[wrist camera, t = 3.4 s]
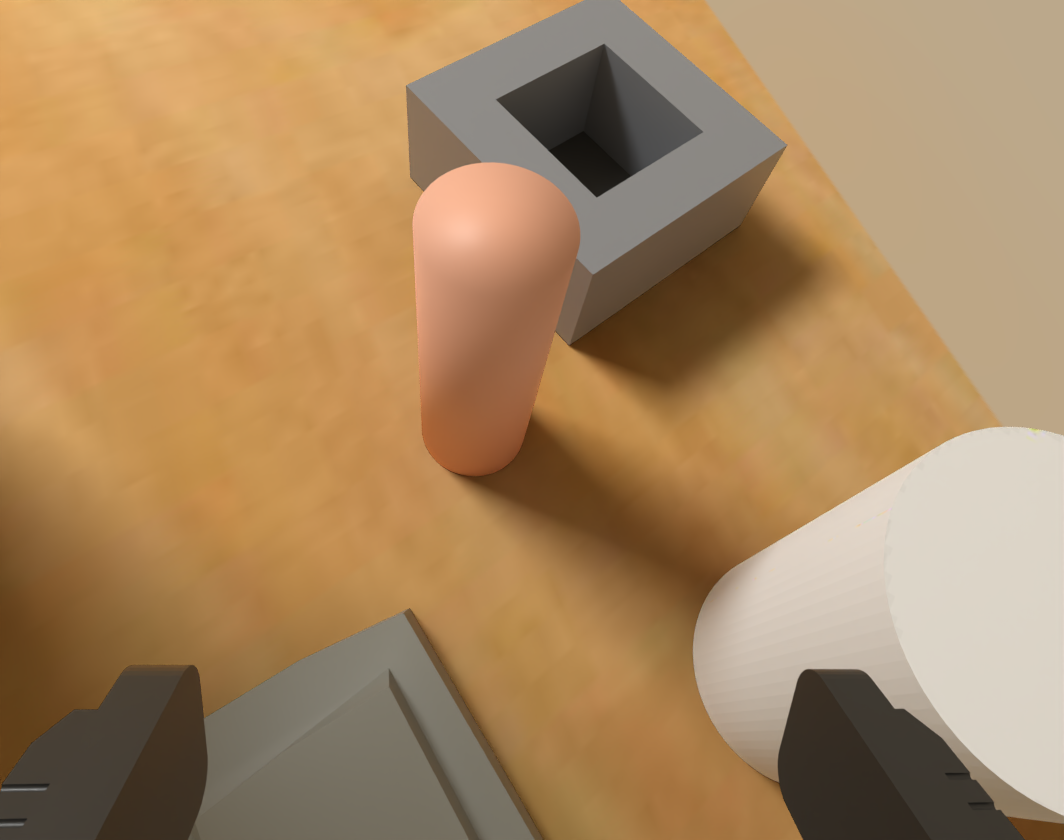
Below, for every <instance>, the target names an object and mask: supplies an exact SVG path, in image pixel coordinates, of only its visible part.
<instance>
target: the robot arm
mask: <svg viewBox="0 0 1064 840" xmlns="http://www.w3.org/2000/svg"><path fill="white" fill-rule="evenodd" d="M207 770H208V755H207V745H206V735H205V725H204V715H203V705H202V696H201V686H200V677H199V673H198V670H197V668H196V667H195V666H193V665H131V666H129V667H127V668H126V669H125V670H124V671H123V672H122V673H121V675H120V676H119V678H118V679H117V681H116V682H115V684H114V685H113V687H112V689H111V690H110V692H109V693H108V695H107V696H106V698H105V699H104V701H103V702H102V704H101V706H100V707H99V709H98V710H73V711H72V712H71V713H69V714H68V715H67V716H66V717H64V718H63V719H62V720H60V721H59V722H58V723H57V724H55V725H54V726H53V727H52V728H50V729H49V730H48V731H47V732H45V733H44V734H43V735H41V736H40V737H39V738H38V739H36V740H35V741H34V742H33V743H31V745H30V746H29V747H28V749H27V750H26V752H25V753H24V754H23V756H22V757H21V758H20V760H19V761H18V763H17V764H16V765H15V767H14V768H13V770H12V771H11V772H10V774H9V775H8V776H7V778H6V779H5V781H4V782H3V783H2V788H1V791H0V840H188V839H189V836H190V834H191V831H192V829H193V826H194V823H195V821H196V818H197V816H198V813H199V810H200V807H201V804H202V800H203V796H204V791H205V786H206V780H207ZM778 777H779V784H780V788H781V792H782V795H783V798H784V801H785V803H786V806H787V808H788V810H789V812H790V814H791V816H792V818H793V820H794V822H795V824H796V826H797V828H798V830H799V832H800V834H801V836H802V838H803V840H1025V839H1024V838H1023V837H1022V836H1021V834H1020V833H1019V832H1018V831H1017V829H1016V828H1015V827H1014V826H1013V825H1012V823H1011V822H1010V821H1009V820H1008V818H1007V817H1006V816H1005V815H1004V813H1003V812H1002V811H1001V810H996V809H995V807H994V801H993V800H992V799H991V797H990V796H989V795H988V794H987V793H986V791H985V790H984V789H983V788H982V786H981V785H980V784H979V783H978V782H977V780H972V779H971V777H970V772H969V770H968V769H967V768H966V767H965V766H964V764H963V763H962V762H961V761H960V759H959V758H958V757H957V756H956V754H955V753H954V752H953V751H952V750H951V748H950V747H949V746H948V745H947V743H946V742H945V741H944V740H943V738H942V737H940V736H939V735H938V734H936V733H935V732H934V731H932V730H931V729H930V728H929V727H927V726H926V725H925V724H923V723H922V722H921V721H919V720H918V719H917V718H915V717H914V716H913V715H912V714H910V713H909V712H908V711H906V710H905V709H895V708H894V707H893V706H892V704H891V703H890V702H889V701H888V699H887V698H886V697H885V695H884V694H883V693H882V692H881V690H880V689H879V688H878V686H877V685H876V684H875V682H874V681H873V680H872V679H871V677H870V676H869V675H868V674H867V673H865V672H864V671H862V670H859V669H806V670H804V671H803V672H802V673H801V674H800V676H799V678H798V680H797V684H796V687H795V691H794V695H793V699H792V703H791V707H790V711H789V714H788V718H787V722H786V726H785V730H784V734H783V737H782V741H781V745H780V749H779V754H778Z"/></svg>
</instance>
